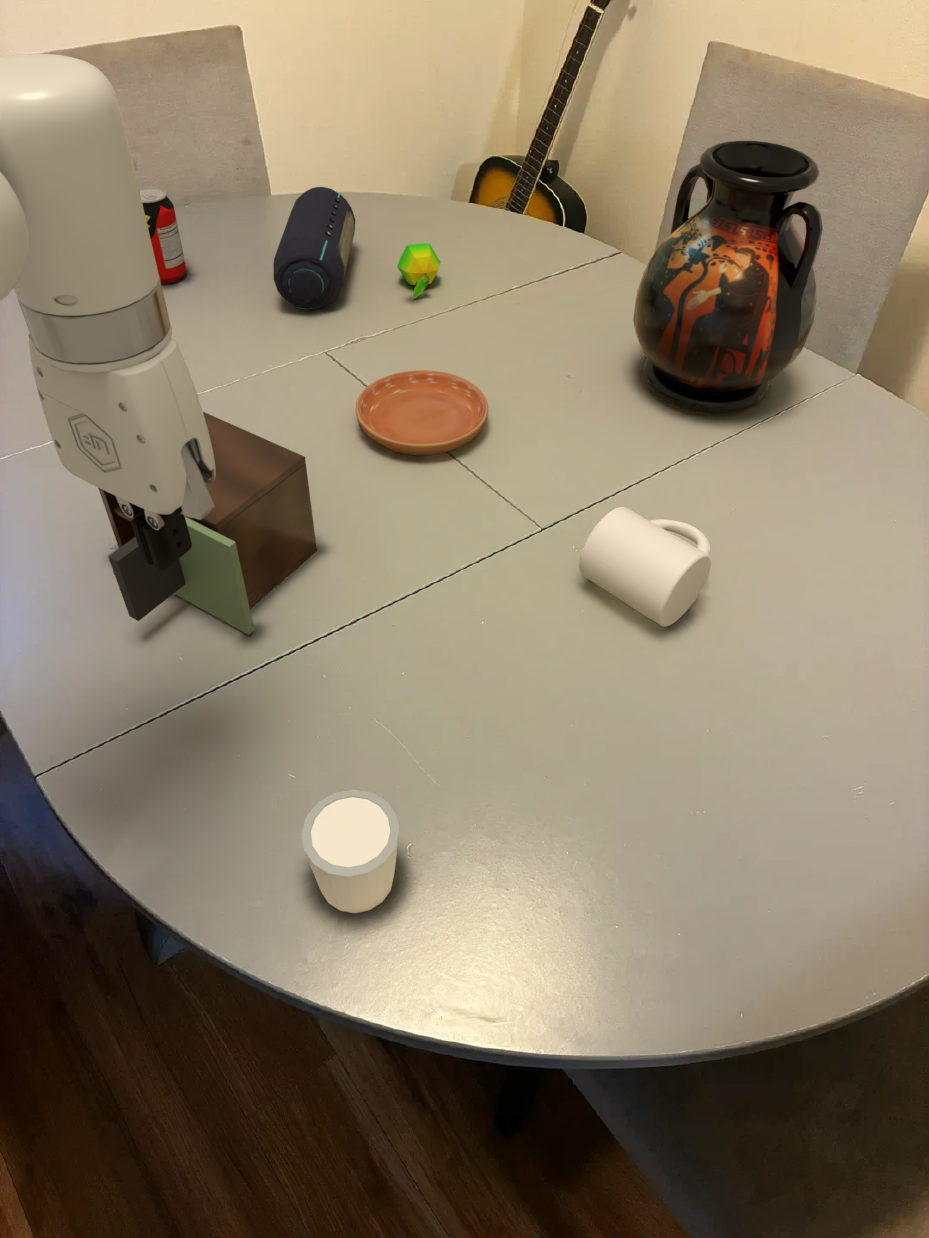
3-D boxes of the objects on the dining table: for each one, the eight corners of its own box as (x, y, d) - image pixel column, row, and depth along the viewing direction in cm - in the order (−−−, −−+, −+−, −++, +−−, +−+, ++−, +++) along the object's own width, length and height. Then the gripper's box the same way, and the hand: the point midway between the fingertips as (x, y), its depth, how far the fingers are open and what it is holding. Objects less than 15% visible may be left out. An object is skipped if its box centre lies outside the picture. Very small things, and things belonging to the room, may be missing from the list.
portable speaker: (343, 320, 126) (338, 250, 119) (273, 318, 126) (263, 248, 119) (359, 244, 143) (355, 179, 136) (298, 242, 143) (290, 177, 136)
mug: (654, 641, 85) (670, 581, 79) (573, 589, 89) (583, 529, 84) (723, 581, 91) (742, 521, 85) (644, 535, 96) (658, 475, 90)
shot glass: (379, 934, 64) (375, 889, 59) (294, 902, 66) (283, 855, 61) (415, 854, 69) (414, 805, 64) (335, 826, 70) (328, 776, 65)
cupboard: (237, 619, 85) (215, 524, 77) (121, 556, 91) (88, 460, 82) (317, 550, 92) (305, 456, 84) (204, 495, 98) (182, 402, 89)
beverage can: (174, 263, 137) (156, 182, 128) (195, 278, 134) (179, 195, 125) (136, 275, 134) (116, 193, 125) (157, 290, 131) (138, 207, 122)
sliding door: (203, 675, 80) (177, 587, 72) (125, 630, 84) (92, 540, 76) (254, 630, 84) (235, 541, 76) (178, 588, 88) (152, 499, 80)
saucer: (423, 482, 101) (423, 461, 99) (329, 425, 108) (327, 404, 106) (514, 425, 109) (515, 404, 107) (421, 376, 116) (421, 355, 114)
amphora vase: (588, 377, 117) (620, 151, 97) (691, 328, 127) (740, 113, 107) (718, 453, 106) (785, 215, 86) (820, 392, 116) (902, 166, 96)
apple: (410, 224, 131) (428, 249, 125) (441, 249, 135) (459, 274, 130) (381, 264, 134) (397, 290, 128) (412, 286, 138) (429, 313, 132)
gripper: (-47, 306, 50) (54, 547, 64) (146, 385, 45) (212, 629, 59) (58, 258, 55) (132, 492, 68) (244, 324, 50) (284, 564, 63)
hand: (168, 555), depth 63 cm, fingers closed
